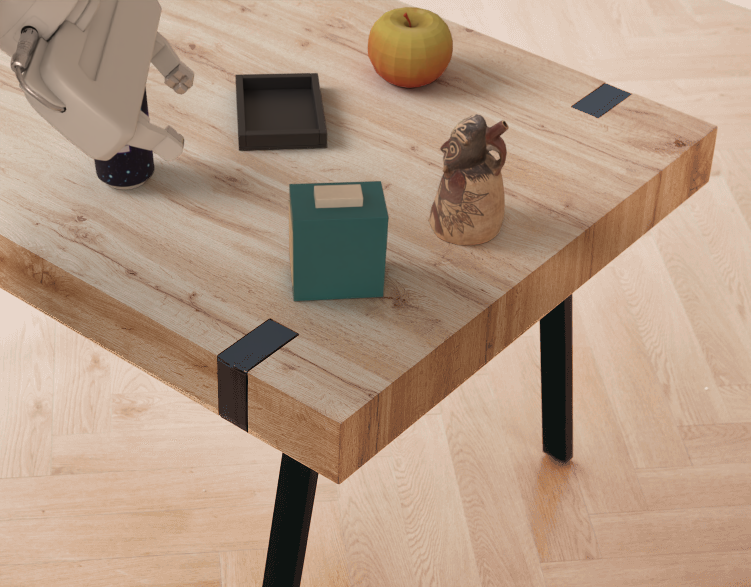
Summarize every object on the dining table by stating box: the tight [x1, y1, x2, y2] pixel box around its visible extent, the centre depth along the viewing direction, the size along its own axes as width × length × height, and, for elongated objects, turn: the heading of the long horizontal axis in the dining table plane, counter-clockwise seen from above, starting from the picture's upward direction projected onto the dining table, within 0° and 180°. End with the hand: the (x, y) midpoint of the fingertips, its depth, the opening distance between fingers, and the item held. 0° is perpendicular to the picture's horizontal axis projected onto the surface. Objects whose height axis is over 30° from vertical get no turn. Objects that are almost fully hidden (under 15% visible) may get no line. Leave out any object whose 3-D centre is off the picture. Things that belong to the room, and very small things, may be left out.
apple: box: [367, 6, 454, 89], centre depth 122 cm, size 10×10×8 cm
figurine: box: [427, 113, 509, 246], centre depth 100 cm, size 7×7×12 cm
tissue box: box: [288, 180, 390, 302], centre depth 94 cm, size 5×8×10 cm, turn 97°
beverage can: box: [93, 85, 155, 191], centre depth 103 cm, size 6×6×12 cm
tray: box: [235, 72, 328, 151], centre depth 116 cm, size 9×12×2 cm
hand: (184, 117), depth 84 cm, fingers open, 8 cm apart
